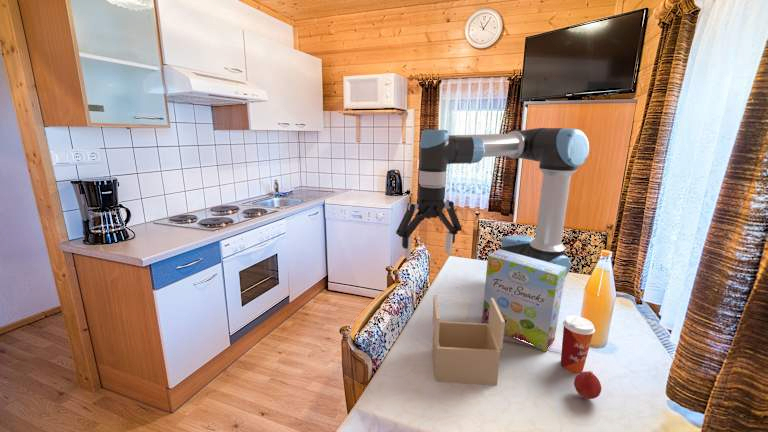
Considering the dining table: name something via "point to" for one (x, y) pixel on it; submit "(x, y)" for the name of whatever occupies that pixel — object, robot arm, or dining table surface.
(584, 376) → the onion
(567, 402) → the dining table surface
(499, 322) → the flap
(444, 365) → the carton
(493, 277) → the snack box
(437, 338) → the flap
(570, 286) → the dining table surface
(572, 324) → the paper cup
